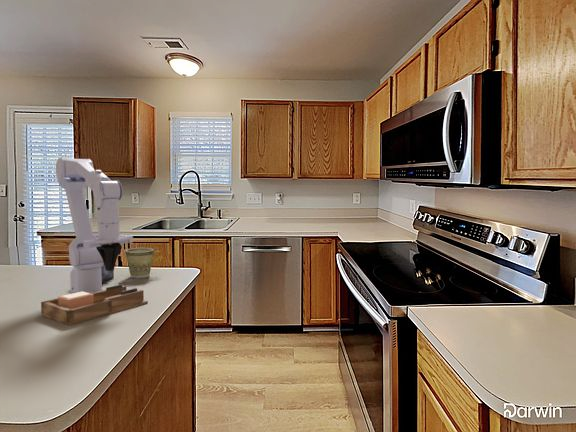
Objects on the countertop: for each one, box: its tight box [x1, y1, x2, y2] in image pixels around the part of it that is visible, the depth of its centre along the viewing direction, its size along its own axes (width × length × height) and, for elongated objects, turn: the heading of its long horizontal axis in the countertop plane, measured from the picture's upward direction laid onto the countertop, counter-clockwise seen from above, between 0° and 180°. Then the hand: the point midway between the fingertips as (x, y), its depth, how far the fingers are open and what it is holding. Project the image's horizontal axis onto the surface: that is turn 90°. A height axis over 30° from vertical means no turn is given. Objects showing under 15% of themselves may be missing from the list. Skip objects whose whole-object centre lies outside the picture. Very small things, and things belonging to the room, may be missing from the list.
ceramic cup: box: [125, 247, 162, 279], centre depth 165 cm, size 13×10×10 cm
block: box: [57, 291, 94, 309], centre depth 119 cm, size 5×7×5 cm
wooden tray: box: [40, 283, 149, 326], centre depth 125 cm, size 13×24×4 cm, turn 146°
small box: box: [101, 264, 115, 284], centre depth 156 cm, size 11×6×10 cm, turn 168°
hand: (109, 270), depth 127 cm, fingers closed
